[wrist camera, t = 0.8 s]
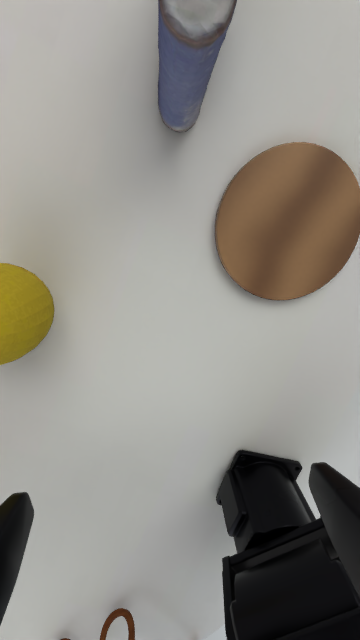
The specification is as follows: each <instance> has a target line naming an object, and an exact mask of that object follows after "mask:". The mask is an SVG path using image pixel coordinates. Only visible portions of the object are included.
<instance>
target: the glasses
mask: <svg viewBox="0 0 360 640" xmlns="http://www.w3.org/2000/svg"><path fill="white" fill-rule="evenodd" d="M119 616H123V617H125V619H126V621H127V624H128V631H129V637H128V640H135V627H134V621H133V617H132V615H131V613H130V612H129V611H128V610H126V609H123V608H119V609H117V610H115V611H113V612H112V613H111V614H110V615H109V616H108V618H107V619H106V621H105V623H104V625H103V628H102V631H101V636H100V640H105V639H106V634H107V631H108V628H109V626H110V624H111V623H112V622H113V621H114V620H115V619H116V618H117V617H119ZM61 640H70V639H67V638H63V639H61Z"/></svg>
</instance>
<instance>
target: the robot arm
mask: <svg viewBox="0 0 360 640" xmlns="http://www.w3.org/2000/svg"><path fill="white" fill-rule="evenodd" d="M241 456H242V457H241ZM301 470H302V466H301V464H300V463H299V462H298V461H294V460H289V459H284V458H279V457H274V456H269V455H265V454H260V453H255V452H250V451H245V450H240V451H238V452H237V454H236V456H235V458H234V460H233V462H232V464H231V467H230V469H229V470H228V471H227V473H226V475H225V477H224V479H223V481H222V483H221V486H220V488H219V492H218V494H217V496H216V500H217V504H219V505H222V508H223V513H224V518H225V522H226V527H227V532H228V534H229V536H231V537H234V541H235V545H236V550H237V554H235V555H233V556H227V557H224V558H222V561H223V571H222V576H223V594H224V612H225V630H226V636H227V640H360V488H359V487H358V486H356V485H355V484H354V483H352V482H351V481H350V480H348V479H347V478H346V477H344V476H343V475H342V474H340V473H339V472H338V471H336V470H335V469H334V468H332V467H331V466H330V465H328V464H327V463H324V462H320V463H313V464H312V465H311V470H310V476H309V487H310V490H311V493H312V495H313V498H314V500H315V503H316V505H317V508H318V510H319V513H320V515H321V516H320V518H319V519H317V520H316V518H315V517H314V515H313V513H312V511H311V509H310V507H309V505H308V503H307V501H306V499H305V498H304V496H303V494H302V492H301V490H300V488H299V486H298V484H297V482H296V479H297V477H298V475H299V473H300V472H301ZM33 518H34V509H33V506H32V503H31V500H30V497H29V494H28V493H27V492H22V493H14V494H12V495H11V496H10V497H8V498H7V499H6V500H5V501H4V502H3V503H2V504H1V505H0V625H1V622H2V619H3V617H4V614H5V611H6V608H7V606H8V603H9V600H10V597H11V595H12V592H13V589H14V586H15V583H16V580H17V577H18V573H19V570H20V566H21V563H22V559H23V555H24V551H25V548H26V544H27V540H28V537H29V533H30V529H31V526H32V522H33Z"/></svg>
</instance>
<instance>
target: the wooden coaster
mask: <svg viewBox="0 0 360 640" xmlns="http://www.w3.org/2000/svg"><path fill="white" fill-rule="evenodd" d="M359 235H360V188H359V185H358V182H357V180H356V178H355V176H354V174H353V172H352V170H351V169H350V168H349V166H348V165H347V164H346V163H345V162H344V161H343V159H342V158H341V157H339V156H338V155H337V154H335V153H334V152H333V151H331V150H329V149H327V148H325V147H322V146H319V145H316V144H312V143H306V142H292V143H286V144H282V145H278V146H275V147H272V148H270V149H268V150H266V151H264V152H262V153H261V154H259V155H257V156H256V157H254V158H253V159H252V160H250V161H249V162H248V163H247V164H246V165H244V166H243V167H242V168H241V169H240V171H239V172H238V173H237V174H236V175H235V176H234V178H233V179H232V180H231V182H230V183H229V185H228V187H227V188H226V190H225V192H224V194H223V196H222V199H221V201H220V204H219V208H218V211H217V216H216V223H215V240H216V247H217V251H218V255H219V257H220V260H221V263H222V264H223V266H224V268H225V270H226V271H227V273H228V274H229V275H230V277H231V278H232V279H233V280H234V281H235V282H236V283H237V284H238V285H239V286H241V287H242V288H243V289H245V290H246V291H248V292H250V293H252V294H253V295H256V296H259V297H261V298H266V299H271V300H289V299H295V298H298V297H302V296H305V295H307V294H310V293H312V292H314V291H316V290H317V289H319V288H321V287H322V286H324V285H325V284H326V283H328V282H329V281H330V280H331V279H332V278H333V277H335V276H336V275H337V273H338V272H339V271H340V270H341V269H342V268H343V266H344V265H345V264H346V262H347V261H348V259H349V258H350V256H351V254H352V252H353V250H354V248H355V246H356V243H357V241H358V238H359Z"/></svg>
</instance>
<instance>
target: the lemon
mask: <svg viewBox="0 0 360 640" xmlns="http://www.w3.org/2000/svg"><path fill="white" fill-rule="evenodd" d="M53 317H54V304H53V299H52V296H51V294H50V291H49V289H48V288H47V287H46V285H45V284H44V283H43V281H41V280H40V279H39V278H38V277H37V276H36V275H35V274H33V273H31V272H29V271H28V270H26V269H24V268H22V267H18V266H15V265H12V264H7V263H0V365H2V364H5V363H8V362H11V361H14V360H16V359H18V358H20V357H22V356H23V355H25V354H26V353H28V352H30V351H31V350H33V349H34V348H35V347H36V346H37V345H38V344H39V343H40V342H41V341H42V340H43V338H44V337H45V336H46V335H47V333H48V331H49V329H50V327H51V324H52V322H53Z"/></svg>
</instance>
